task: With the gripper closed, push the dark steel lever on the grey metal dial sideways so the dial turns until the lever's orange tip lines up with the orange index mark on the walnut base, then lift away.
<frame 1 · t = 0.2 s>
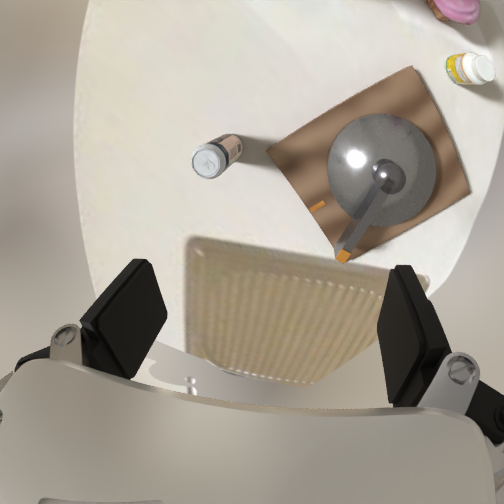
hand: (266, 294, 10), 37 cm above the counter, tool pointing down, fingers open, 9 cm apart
cupcake: (439, 8, 23), on the counter
pill bottle: (229, 147, 44), on the counter
supplement bottle: (455, 70, 28), on the counter
dial base: (378, 166, 41), on the counter
dial: (377, 190, 38), point 5 cm above the counter, hinge at 30.0°
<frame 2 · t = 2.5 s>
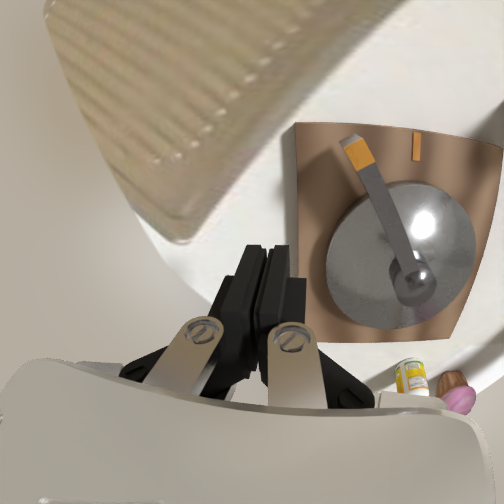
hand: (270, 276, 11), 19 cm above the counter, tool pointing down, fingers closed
cupcake: (447, 376, 40), on the counter
supplement bottle: (408, 365, 39), on the counter
dial base: (398, 248, 30), on the counter
dial: (401, 251, 24), point 5 cm above the counter, hinge at 30.0°
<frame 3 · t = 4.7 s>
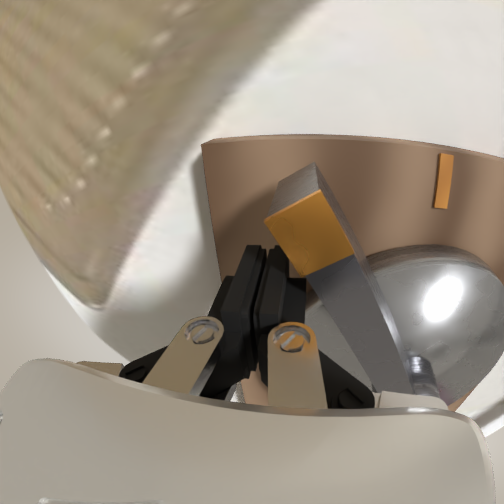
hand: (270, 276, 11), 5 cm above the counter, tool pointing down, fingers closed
dial base: (392, 332, 19), on the counter
dial: (395, 366, 13), point 5 cm above the counter, hinge at 29.8°, touching gripper
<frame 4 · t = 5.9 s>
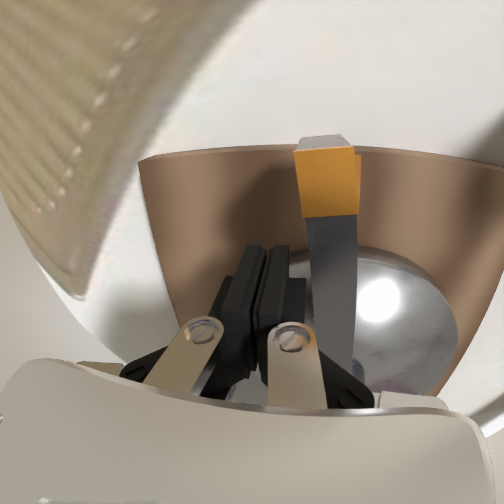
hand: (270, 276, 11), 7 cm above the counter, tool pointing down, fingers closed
dial base: (333, 332, 21), on the counter
dial: (333, 358, 15), point 5 cm above the counter, hinge at 6.2°, touching gripper
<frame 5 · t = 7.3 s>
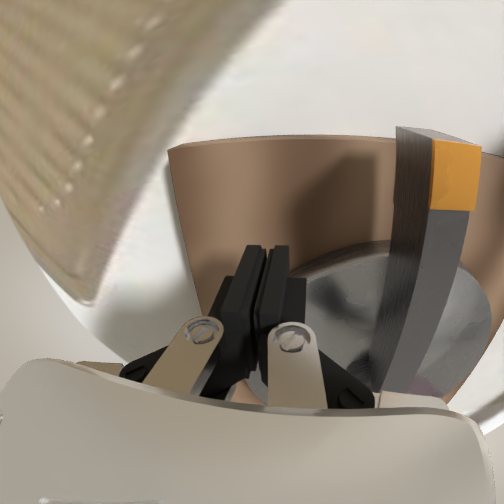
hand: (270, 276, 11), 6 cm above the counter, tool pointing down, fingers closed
dial base: (367, 329, 20), on the counter
dial: (385, 356, 14), point 5 cm above the counter, hinge at 2.0°
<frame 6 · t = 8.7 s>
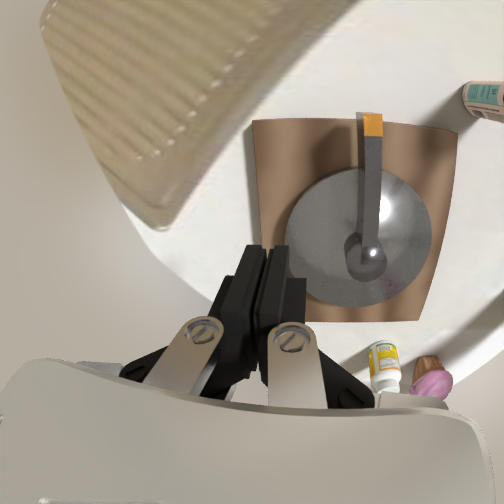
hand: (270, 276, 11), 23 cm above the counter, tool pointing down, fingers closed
cupcake: (424, 361, 44), on the counter
pill bottle: (473, 99, 21), on the counter
supplement bottle: (381, 348, 44), on the counter
dial base: (356, 231, 34), on the counter
dial: (365, 227, 28), point 5 cm above the counter, hinge at 2.0°
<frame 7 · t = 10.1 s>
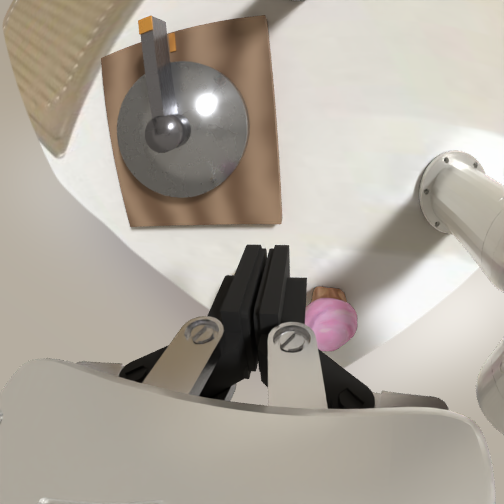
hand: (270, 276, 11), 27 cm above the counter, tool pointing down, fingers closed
cupcake: (326, 296, 45), on the counter
dial base: (187, 126, 34), on the counter
dial: (167, 108, 29), point 5 cm above the counter, hinge at 2.0°
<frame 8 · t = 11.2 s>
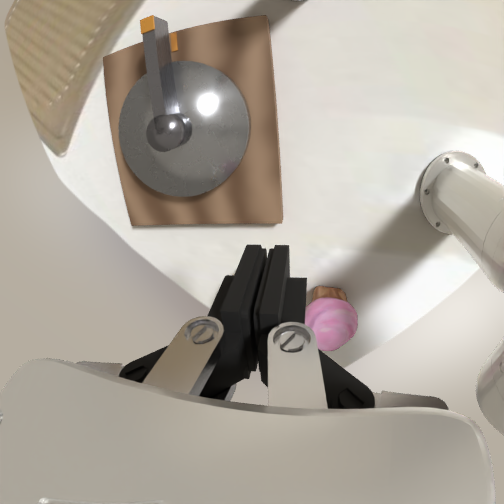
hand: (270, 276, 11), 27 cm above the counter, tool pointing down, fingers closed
cupcake: (326, 295, 45), on the counter
dial base: (189, 126, 35), on the counter
dial: (169, 107, 29), point 5 cm above the counter, hinge at 2.0°
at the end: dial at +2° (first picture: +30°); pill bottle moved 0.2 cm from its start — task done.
